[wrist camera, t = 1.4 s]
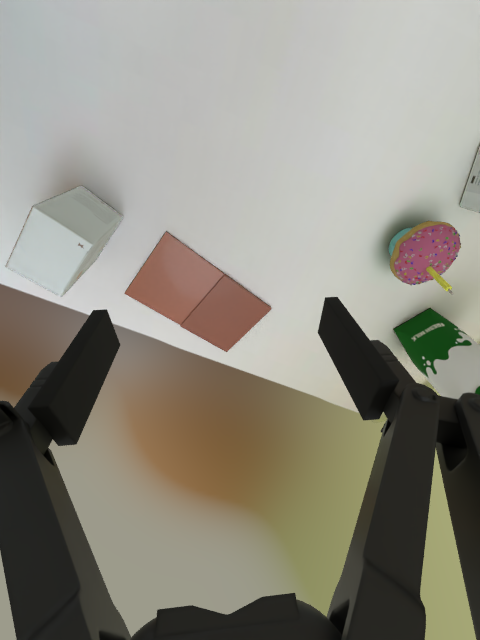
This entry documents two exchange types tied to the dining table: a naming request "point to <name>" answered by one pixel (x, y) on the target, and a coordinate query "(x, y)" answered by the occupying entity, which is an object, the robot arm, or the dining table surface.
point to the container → (473, 188)
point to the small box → (63, 239)
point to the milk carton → (442, 353)
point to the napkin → (196, 294)
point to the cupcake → (424, 253)
